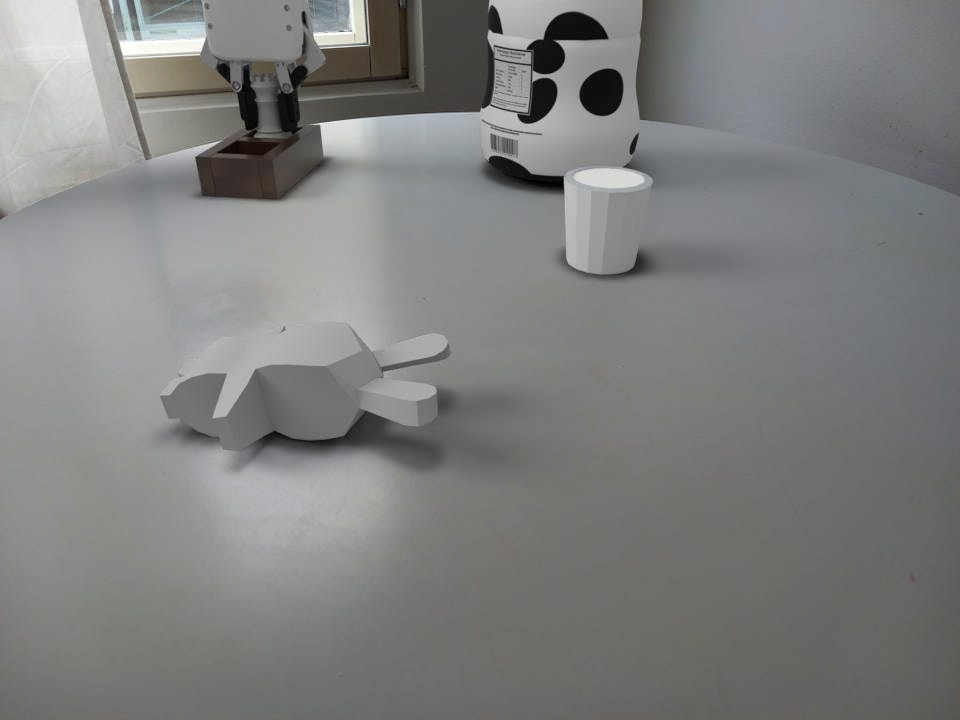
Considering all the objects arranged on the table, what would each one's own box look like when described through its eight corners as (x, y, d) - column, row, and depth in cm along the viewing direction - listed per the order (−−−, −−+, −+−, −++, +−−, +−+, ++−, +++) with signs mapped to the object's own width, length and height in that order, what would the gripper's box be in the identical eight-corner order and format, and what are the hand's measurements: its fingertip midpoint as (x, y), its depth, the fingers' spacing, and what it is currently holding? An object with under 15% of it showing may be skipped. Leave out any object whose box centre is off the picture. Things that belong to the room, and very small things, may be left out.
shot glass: (577, 282, 57) (584, 194, 54) (547, 249, 63) (551, 167, 60) (657, 272, 59) (669, 186, 55) (621, 241, 65) (629, 161, 61)
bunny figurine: (200, 311, 44) (447, 293, 42) (224, 383, 47) (459, 369, 45) (122, 399, 36) (424, 382, 34) (157, 480, 39) (439, 468, 37)
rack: (202, 196, 75) (194, 156, 73) (258, 156, 87) (253, 122, 85) (277, 199, 74) (272, 159, 72) (324, 159, 86) (320, 124, 84)
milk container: (632, 152, 89) (650, -15, 80) (637, 198, 75) (659, 0, 65) (489, 146, 91) (491, -17, 82) (467, 190, 77) (466, -3, 67)
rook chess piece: (275, 158, 80) (264, 80, 76) (246, 152, 82) (233, 76, 78) (304, 149, 83) (294, 73, 79) (275, 143, 85) (264, 70, 81)
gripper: (339, -65, 74) (355, 123, 83) (183, -66, 76) (216, 117, 85) (315, -64, 68) (334, 140, 77) (145, -65, 70) (184, 134, 79)
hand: (271, 126), depth 81 cm, fingers closed on rook chess piece, 3 cm apart
